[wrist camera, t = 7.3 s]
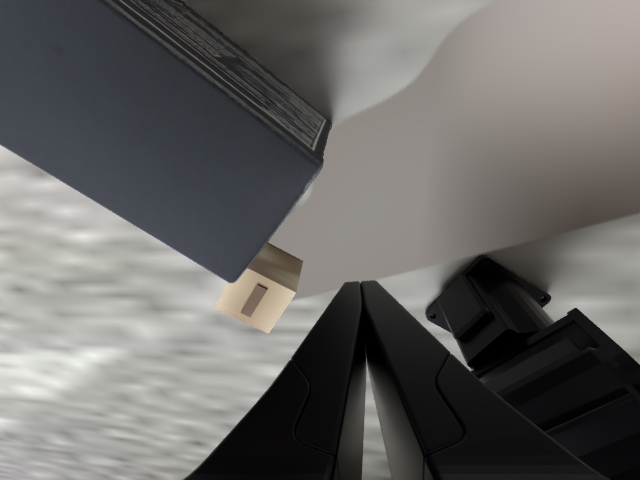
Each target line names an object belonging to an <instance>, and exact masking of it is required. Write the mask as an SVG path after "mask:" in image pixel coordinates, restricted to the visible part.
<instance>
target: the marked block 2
mask: <svg viewBox="0 0 640 480" xmlns="http://www.w3.org/2000/svg"><path fill="white" fill-rule="evenodd" d="M302 263H303V261H302V260H300V259H298V258H296V257H294V256H292V255H291V254H289V253H287V252H285V251H283V250H281V249H279V248H277V247H275V246H274V245H272V244H270V243H268V242H267V243H266V245H265V246H264V247H263V249H262V250H261V251H260V252H259V254H258V255H257V256H256V258H255V259H254V260H253V261H252V263H251V264H250V266H249V267H248V268H247V269H246V270H245V272H244V273H243V274H242V275H241V276H240V278H239V279H238V280H237V281H236V282H235V283H232V284H231V283H227V285H226V287H225V289H224V291H223V293H222V295H221V296H220V298H219V300H218V302H217V304H216V306H215V308H216V309H218V310H220V311H222V312H224V313H226V314H228V315H230V316H232V317H234V318H237V319H239V320H241V321H243V322H245V323H247V324H249V325H251V326H253V327H256V328H258V329H260V330H262V331H264V332H266V333H268V334H269V332H270V331H271V329H272V328H273V326H274V325H275V323H276V322H277V320H278V319H279V317H280V316H281V314H282V313H283V311H284V310H285V308H286V307H287V305H288V304H289V302H290V301H291V299H292V298H293V296H294V295H295V293H296V290H297V285H298V281H299V276H300V272H301V268H302Z"/></svg>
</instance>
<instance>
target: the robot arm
mask: <svg viewBox="0 0 640 480" xmlns="http://www.w3.org/2000/svg"><path fill="white" fill-rule="evenodd" d="M483 261H487V262H486V263H485V264H482V262H483ZM541 297H543V298H542V299H540V298H541ZM550 300H551V296H550V295H549V294H548V293H547V292H546V291H545V290H543V289H541V288H540V287H538V286H536V285H535V284H533V283H532V282H530V281H528V280H527V279H525V278H523V277H522V276H520V275H519V274H517V273H515V272H514V271H512V270H510V269H509V268H507V267H506V266H504V265H502V264H501V263H499V262H497V261H496V260H494V259H493V258H491V257H489V256H487V255H481V256H479V257H478V258H477V259H476V260H475V261H474V262H473V263H472V264H471V265H470V266H469V267H468V268H467V269H466V270H465V271H464V272H463V273H462V274H461V275H460V276H458V278H457V279H456V280H455V281H454V282H453V283H452V284H451V285H450V286H449V287H448V288H447V289H446V290H445V291H444V292H443V293H442V294H441V295H440V296H439V297H438V299H437V300H436V301H435V302H434V303H433V304H432V305H431V306H430V308H429V309H428V310H427V311H426V313H425V314H426V317H427V319H428V320H429V321H430V322H432V323H434V324H436V325H438V326H440V327H441V328H443V329H445V330H447V331H449V332H451V333H452V335H453V337H454V338H455V339H456V341H457V343H458V345H459V348H460V350H461V352H462V354H463V356H464V359H465V361H466V363H467V365H468V366H469V367H470V368H471V370H472V371H469V370H468V369H467V368H466V367H465V366H464V365H463V364H462V363H461V362H460V361H459V360H458V359H457V358H456V357H455V356H454V355H452V354H450V352H449V351H448V350H447V349H446V348H445V347H444V346H443V345H442V344H441V343H440V342H439V341H438V340H437V339H436V338H435V337H434V336H433V335H432V334H431V333H430V332H429V331H428V330H427V329H426V328H424V327H423V326H422V325H421V324H420V323H419V322H418V321H417V320H416V319H415V318H414V317H413V316H412V315H411V314H410V313H409V312H408V311H407V310H406V309H405V308H404V307H403V306H402V305H401V304H400V303H399V302H398V301H397V300H395V299H394V298H393V297H392V296H391V295H390V294H389V293H388V292H387V291H386V290H385V289H384V288H383V287H382V286H381V285H380V284H379V283H378V282H377V281H375V280H371V281H362V282H361V285H360V282H358V281H356V282H346V283H344V285H343V286H342V287H341V289H340V290H339V291H338V293H337V294H336V296H335V297H334V298H333V300H332V301H331V303H330V304H329V306H328V307H327V308H326V310H325V311H324V313H323V314H322V315H321V317H320V318H319V320H318V321H317V322H316V324H315V325H314V327H313V328H312V330H311V331H310V332H309V334H308V335H307V337H306V338H305V339H304V341H303V342H302V344H301V345H300V346H299V348H298V349H297V351H296V352H295V353H294V355H293V356H292V358H291V360H289V362H288V363H287V364H286V366H285V367H284V369H283V370H282V372H281V373H280V374H279V375H278V377H277V378H276V379H275V381H274V382H273V383H272V385H271V386H270V387H269V389H268V390H267V391H266V392H265V393H264V394H263V396H262V397H261V398H260V399H259V400H258V401H257V403H256V404H255V405H254V406H253V407H252V408H251V410H250V411H249V412H248V413H247V414H246V415H245V416H244V417H243V418H242V420H241V421H240V422H239V423H238V424H237V425H236V426H235V427H234V428H233V429H232V431H231V432H230V433H229V434H228V435H227V436H226V437H225V438H224V439H223V441H222V442H221V443H220V444H219V445H218V446H217V447H216V448H215V449H214V451H213V452H212V453H211V454H210V455H209V456H208V457H207V458H206V459H205V460H204V461H203V462H202V463H201V464H200V465H199V466H198V467H197V468H196V469H195V470H194V471H193V472H192V473H191V474H189V475H188V476H187V477H186V478H184V479H183V480H362V458H363V436H364V413H365V391H366V358H367V366H368V371H369V376H370V380H371V385H372V389H373V394H374V399H375V403H376V408H377V412H378V417H379V422H380V426H381V431H382V435H383V440H384V444H385V449H386V454H387V458H388V463H389V467H390V472H391V476H392V480H640V365H639V364H638V363H637V362H636V361H635V360H634V359H633V358H632V357H631V356H630V355H629V354H628V353H627V352H625V351H624V350H623V349H622V348H621V347H620V346H619V345H618V344H617V343H615V342H614V341H613V340H612V339H611V338H610V337H609V336H608V335H606V334H605V333H604V332H603V331H602V330H601V329H600V328H599V327H597V326H596V325H595V324H594V323H593V322H592V321H591V320H589V319H588V318H587V317H586V316H585V315H584V314H583V313H582V312H580V311H579V310H578V309H577V308H574V309H573V310H571V311H569V312H568V313H567V314H568V315H567V316H565V317H563V318H561V319H560V320H558V321H556V322H554V321H553V320H552V319H551V317H550V316H549V315H548V314H547V313H546V312H545V311H544V310H543V309H542V308H543V307H544V306H545V305H546V304H547V303H549V301H550ZM431 314H435V315H433V316H430V315H431Z"/></svg>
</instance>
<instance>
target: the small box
mask: <svg viewBox="0 0 640 480" xmlns="http://www.w3.org/2000/svg"><path fill="white" fill-rule="evenodd" d="M331 127H332V123H331V121H329V120H328V119H327V118H325V117H324V116H323V115H322V114H321V113H319V112H318V111H317V110H316V109H315V108H314V107H312V106H311V105H310V104H308V103H307V102H306V101H305V100H303V99H302V98H301V97H300V96H299V95H297V94H296V93H295V92H294V91H292V90H291V89H290V88H289V87H288V86H287V85H286V84H284V83H283V82H281V81H280V80H279V79H278V78H276V77H275V76H274V75H273V74H272V73H270V72H269V71H268V70H266V69H265V68H264V67H263V66H262V65H260V64H259V63H258V62H257V61H256V60H254V59H253V58H252V57H251V56H249V55H248V53H247V52H246V51H244V50H243V49H241V48H240V47H239V46H238V45H237V44H235V43H234V42H232V41H231V40H230V39H229V38H228V37H226V36H225V35H224V34H223V33H222V32H220V31H219V30H218V29H216V28H215V27H214V26H213V25H211V24H210V23H208V22H207V21H206V20H205V19H203V18H202V17H201V16H199V15H198V14H197V13H196V12H194V11H193V10H192V9H191V8H189V7H188V6H187V5H186V4H185V3H184V2H183V1H181V0H0V145H2V146H3V147H5V148H7V149H8V150H10V151H12V152H13V153H15V154H17V155H18V156H20V157H22V158H23V159H25V160H27V161H28V162H30V163H32V164H34V165H35V166H37V167H39V168H40V169H42V170H44V171H45V172H47V173H49V174H50V175H52V176H54V177H55V178H57V179H59V180H60V181H62V182H64V183H65V184H67V185H69V186H70V187H72V188H74V189H75V190H77V191H79V192H80V193H82V194H84V195H85V196H87V197H89V198H90V199H92V200H93V201H95V202H97V203H98V204H100V205H102V206H103V207H105V208H107V209H108V210H110V211H112V212H113V213H115V214H117V215H118V216H120V217H122V218H123V219H125V220H127V221H128V222H130V223H132V224H133V225H135V226H137V227H138V228H140V229H141V230H143V231H145V232H146V233H148V234H150V235H151V236H153V237H155V238H156V239H158V240H160V241H161V242H163V243H165V244H166V245H168V246H170V247H171V248H173V249H175V250H176V251H178V252H179V253H181V254H183V255H184V256H186V257H188V258H189V259H191V260H193V261H194V262H196V263H197V264H199V265H201V266H202V267H204V268H206V269H207V270H209V271H211V272H212V273H214V274H215V275H217V276H219V277H220V278H222V279H224V280H225V281H227V282H228V283H231V284H232V283H235V282H236V281H237V280H238V279H239V278H240V276H241V275H242V274H243V273H244V272H245V270H246V269H247V268H248V267H249V266H250V264H251V263H252V261H253V260H254V259H255V258H256V256H257V255H258V254H259V252H260V251H261V250H262V249H263V247H264V246H265V245H266V243H267V242H268V241H269V240H270V238H271V237H272V235H273V234H274V232H275V231H276V230H277V229H278V227H279V226H280V225H281V223H282V222H283V221H284V219H285V218H286V217H287V215H288V214H289V213H290V211H291V210H292V209H293V207H294V206H295V205H296V203H297V202H298V201H299V199H300V198H301V197H302V195H303V194H304V193H305V191H306V190H307V189H308V187H309V186H310V184H311V183H312V182H313V180H314V179H315V178H316V177H317V175H318V174H319V172H320V171H321V169H322V167H323V161H324V159H323V155H324V153H323V152H324V149H325V146H326V142H327V138H328V134H329V131H330V129H331Z"/></svg>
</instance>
